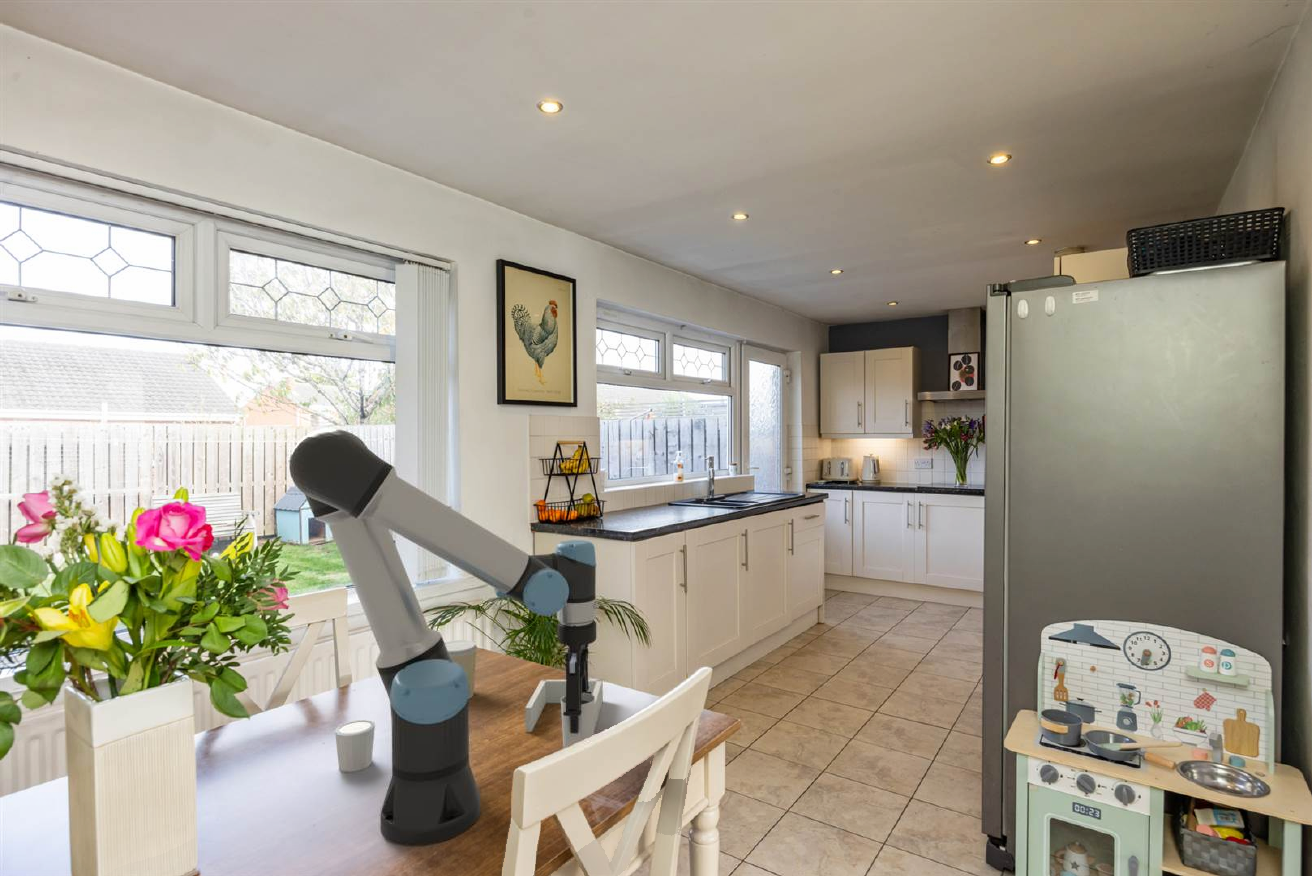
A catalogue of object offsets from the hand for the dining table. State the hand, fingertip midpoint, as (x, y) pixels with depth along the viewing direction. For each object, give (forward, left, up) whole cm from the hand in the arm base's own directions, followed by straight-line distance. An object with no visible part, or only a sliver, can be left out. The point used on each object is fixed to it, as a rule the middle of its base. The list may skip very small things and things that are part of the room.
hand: (578, 739), depth 130 cm
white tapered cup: (-41, -6, -2) cm, 41 cm away
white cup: (0, 0, -2) cm, 2 cm away
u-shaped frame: (-5, +16, -2) cm, 17 cm away
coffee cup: (-33, +28, -2) cm, 43 cm away
